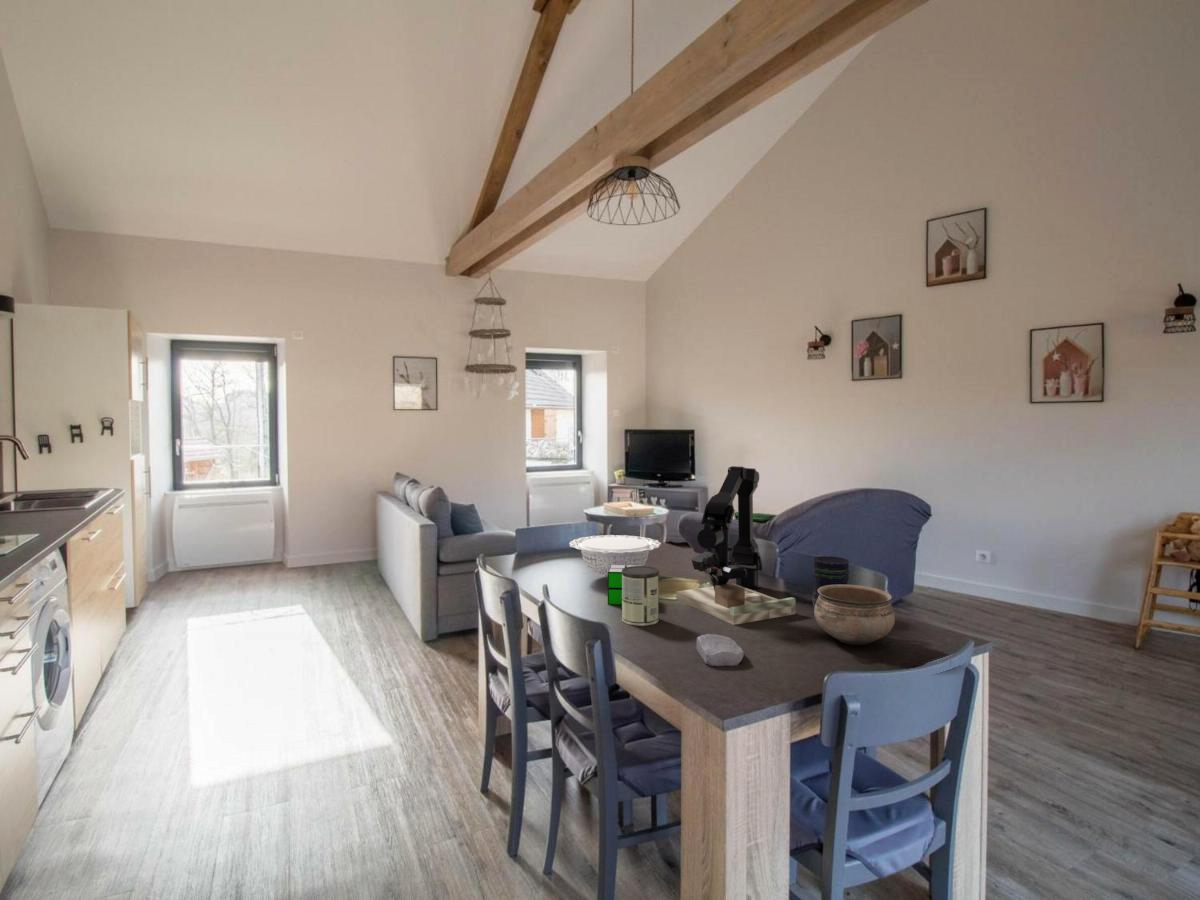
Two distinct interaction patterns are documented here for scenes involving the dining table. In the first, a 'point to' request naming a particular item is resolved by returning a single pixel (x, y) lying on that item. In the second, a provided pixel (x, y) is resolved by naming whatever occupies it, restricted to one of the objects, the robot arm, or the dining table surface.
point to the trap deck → (752, 611)
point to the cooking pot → (854, 613)
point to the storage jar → (829, 573)
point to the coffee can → (640, 595)
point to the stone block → (719, 650)
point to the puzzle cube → (615, 584)
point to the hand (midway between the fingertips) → (718, 595)
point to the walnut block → (729, 595)
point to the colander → (614, 550)
